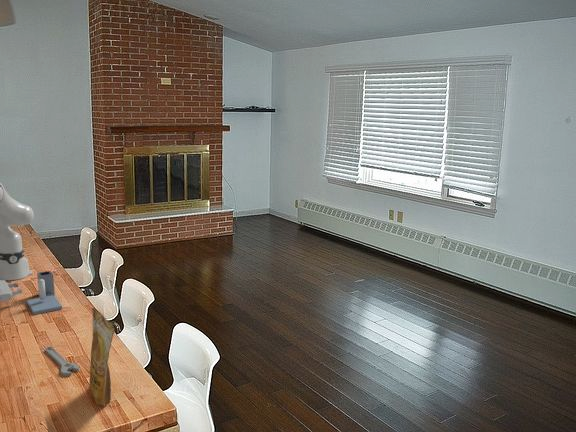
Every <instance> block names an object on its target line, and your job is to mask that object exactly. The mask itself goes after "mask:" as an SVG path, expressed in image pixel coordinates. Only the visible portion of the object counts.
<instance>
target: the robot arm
mask: <svg viewBox="0 0 576 432" xmlns="http://www.w3.org/2000/svg"><path fill="white" fill-rule="evenodd" d="M34 213H35V212H34V209H32V207H31V206H29V205H27V204H24V203H21V202H19V201H18V200H16V199H14V198H13V197H11V195H10V194H9V193H8V192H7V190H6V188H5V187H4V185H3V184H2V182H0V303H1V302H7V301H12V300H13V299H14V297H15V296H16V295H19V294H22V293H23V290H22V288H19V283H18V282H7V281H17V280H21V279H24V278H27V277H28V276H30V275H33V270H31V269H29V267H30V266H29V260H28V259H27V258H26V257H25V252H24V251H25V250H24V249H23V243H22V242H23V241H22V240H23V239H22V236H21V234H20V233H18V232H17V231H14V229H12V228H11V226H12V227H13V226H14V227H15V226H17V227H18V226H19V227H20V226H25V225H30V224H31V223H32V222H33V220H34V218H35V214H34ZM11 288H18V289H15V290H12V289H11Z"/></svg>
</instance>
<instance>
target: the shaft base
mask: <svg viewBox="0 0 576 432" xmlns="http://www.w3.org/2000/svg"><path fill="white" fill-rule="evenodd" d="M38 284H39V288H38V295H39V297H36V298H30V299H26V303H27V305H28V307H29V309H30V311H31V312H32V314H33V316H35V315H39V314H44V313H49V312H55V311H60V310H63V305H62V304H61V302H60V301H59V300H58V299H57V297H56V295H55V296H54V295H51V296H46V293H45V281H44V280H43V279H40V280H39V281H38V280H37V285H38Z"/></svg>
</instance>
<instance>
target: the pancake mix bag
mask: <svg viewBox="0 0 576 432" xmlns="http://www.w3.org/2000/svg"><path fill="white" fill-rule="evenodd" d="M91 311H92V341H91V350H90V351H91V352H90V369H89V382H88V383H89V389H90V392H91V394H92V396H93V399H94V401H95V404H96V405H97V406H103V407H104V408H106V407H107V406H108V405H109V404H110V403H111V401H112V398H111V397H112V396H111V395H112V392H111V391H112V388H111V386H112V385H111V383H112V382H111V373H110V368H109V364H108V363H109V356H110V349H111V346H112V341H113V337H114V334H115V326H114V325H113V324H112V323H111V322H110V321H109V320H108V319H106V317H105V316H104V315H103V314H102V313H101V312H100V310H98V309H97V308H95V307H92V308H91ZM110 400H111V401H110ZM107 404H108V405H107ZM106 405H107V406H106Z"/></svg>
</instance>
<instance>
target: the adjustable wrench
mask: <svg viewBox="0 0 576 432" xmlns="http://www.w3.org/2000/svg"><path fill="white" fill-rule="evenodd" d="M44 351H45V353H46V354H48V355H49V356H50V357H51V358H52V359H53V360H54V361H55V362H56V363H57V364H58V365H59V366H60V367H61V368H60V374H61V376H63V377H71V375H72V372H71V371H73V372H77V373H78V372H80V366H79V365H78V363H77V362H68V361H67V360H66V359H65V358H64V357H63V356H62V355H61V354H60V353H59V352H58V351H57V350H56V349H55V348H54V347H52V346H47V347H45V348H44ZM72 376H73V375H72Z"/></svg>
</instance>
